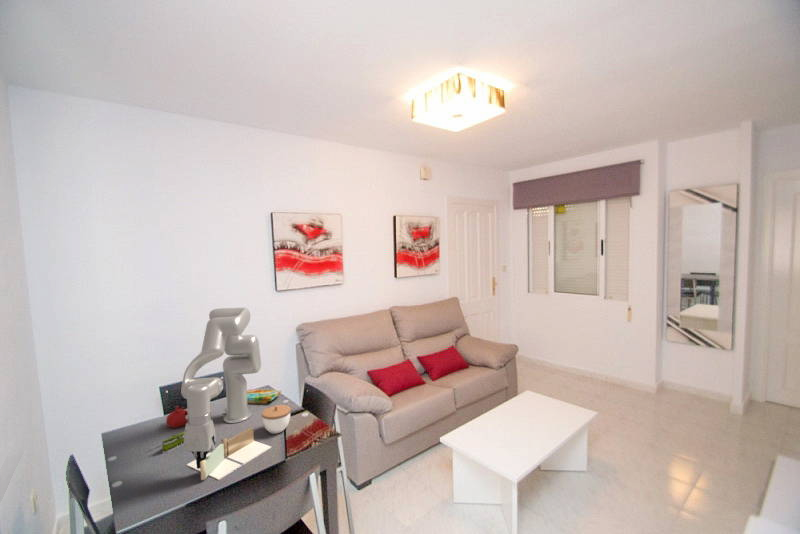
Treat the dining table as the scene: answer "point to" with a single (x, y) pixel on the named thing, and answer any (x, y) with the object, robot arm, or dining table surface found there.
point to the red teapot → (177, 418)
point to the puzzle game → (261, 396)
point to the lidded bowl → (276, 418)
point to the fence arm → (211, 461)
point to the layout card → (235, 459)
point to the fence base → (237, 442)
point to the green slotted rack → (172, 443)
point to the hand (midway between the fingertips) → (201, 466)
